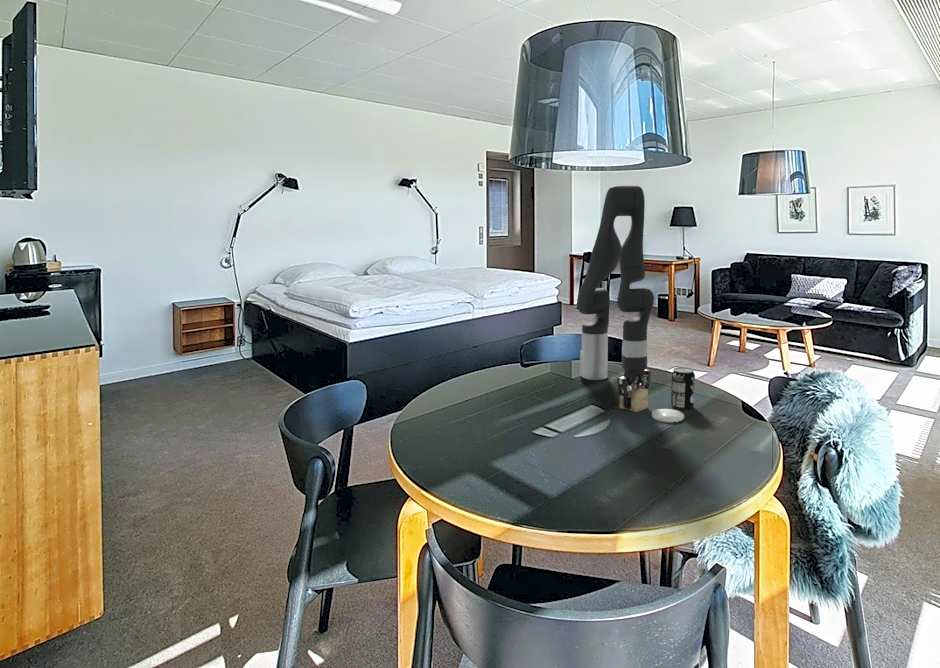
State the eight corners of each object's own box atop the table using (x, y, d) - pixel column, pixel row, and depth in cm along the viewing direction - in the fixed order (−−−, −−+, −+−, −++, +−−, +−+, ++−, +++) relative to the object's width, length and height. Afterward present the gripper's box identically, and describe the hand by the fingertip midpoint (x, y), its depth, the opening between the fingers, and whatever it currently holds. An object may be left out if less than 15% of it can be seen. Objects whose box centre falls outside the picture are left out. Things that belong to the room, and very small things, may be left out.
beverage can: (690, 403, 174) (691, 366, 172) (696, 410, 168) (697, 372, 166) (668, 403, 175) (669, 366, 173) (674, 410, 169) (675, 372, 166)
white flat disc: (645, 417, 164) (645, 414, 164) (662, 409, 170) (663, 406, 169) (672, 425, 157) (672, 421, 157) (690, 417, 163) (690, 414, 162)
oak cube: (619, 407, 173) (619, 389, 172) (631, 403, 177) (631, 385, 176) (636, 412, 168) (636, 393, 167) (647, 407, 172) (648, 389, 171)
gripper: (638, 347, 176) (637, 397, 180) (609, 355, 168) (609, 408, 171) (659, 351, 170) (657, 403, 174) (630, 359, 162) (629, 414, 165)
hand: (633, 405), depth 172 cm, fingers closed on oak cube, 6 cm apart
